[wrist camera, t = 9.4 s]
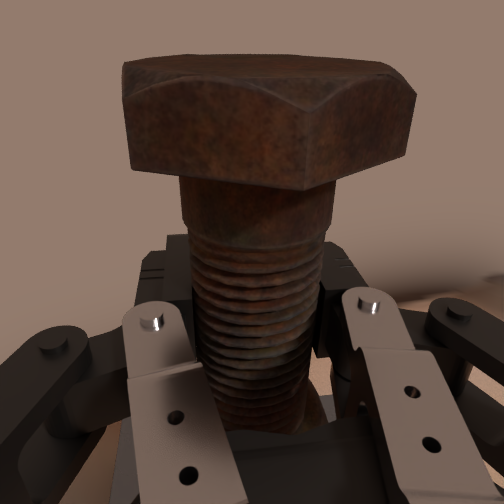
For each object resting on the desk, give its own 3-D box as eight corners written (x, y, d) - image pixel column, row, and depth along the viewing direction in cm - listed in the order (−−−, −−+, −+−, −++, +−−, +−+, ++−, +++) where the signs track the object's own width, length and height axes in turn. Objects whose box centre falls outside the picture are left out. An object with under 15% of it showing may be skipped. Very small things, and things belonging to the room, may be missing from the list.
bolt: (177, 447, 17) (130, 51, 10) (291, 426, 18) (327, 52, 11) (188, 620, 12) (108, 81, 5) (345, 578, 13) (482, 78, 6)
